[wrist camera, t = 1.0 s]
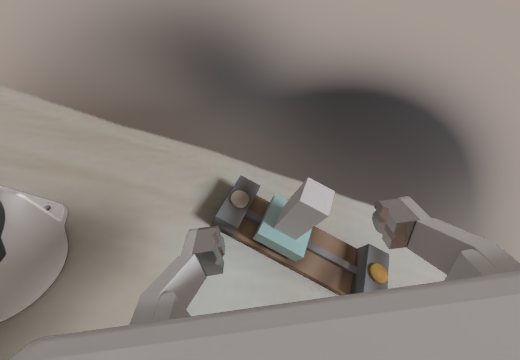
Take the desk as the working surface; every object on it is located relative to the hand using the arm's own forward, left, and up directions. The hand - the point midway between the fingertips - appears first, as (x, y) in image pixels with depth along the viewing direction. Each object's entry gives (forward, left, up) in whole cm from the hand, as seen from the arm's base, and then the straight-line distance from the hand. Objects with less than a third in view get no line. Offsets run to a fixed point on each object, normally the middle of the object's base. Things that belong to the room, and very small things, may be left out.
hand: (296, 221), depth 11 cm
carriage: (+5, +12, -25) cm, 28 cm away
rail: (+9, +12, -28) cm, 31 cm away
